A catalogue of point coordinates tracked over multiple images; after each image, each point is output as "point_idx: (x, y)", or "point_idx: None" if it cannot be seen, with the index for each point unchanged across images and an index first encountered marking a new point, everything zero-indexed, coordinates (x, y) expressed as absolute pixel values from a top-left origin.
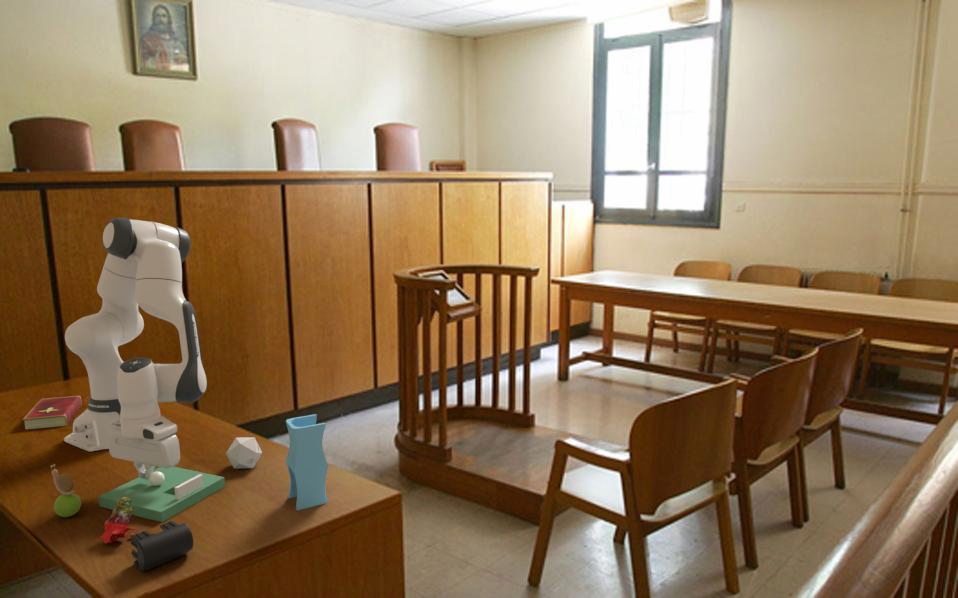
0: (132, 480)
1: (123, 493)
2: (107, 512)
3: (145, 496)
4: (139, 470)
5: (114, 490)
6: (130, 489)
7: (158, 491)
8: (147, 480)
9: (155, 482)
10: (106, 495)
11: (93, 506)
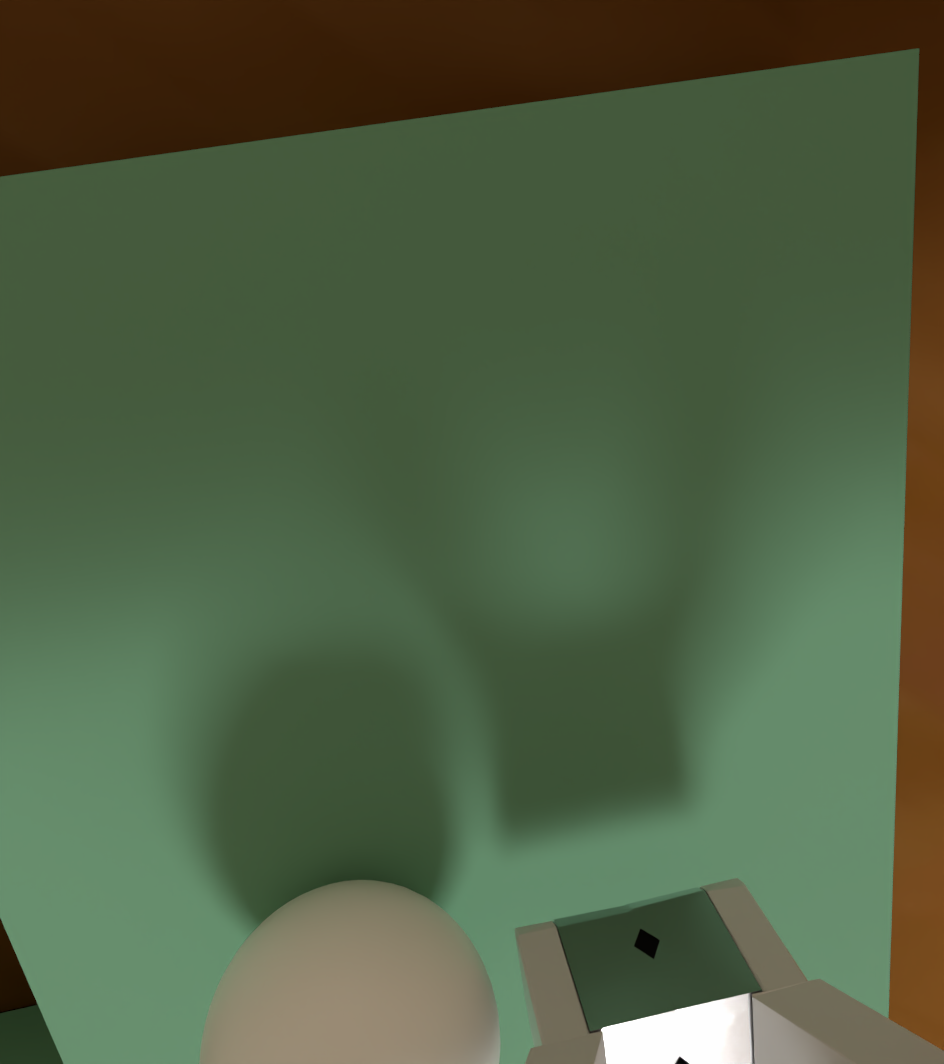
0: (890, 791)
1: (584, 432)
2: (474, 29)
3: (72, 593)
4: (795, 1027)
5: (848, 409)
6: (620, 598)
7: (89, 830)
8: None
9: (242, 956)
10: (806, 182)
11: (886, 48)
